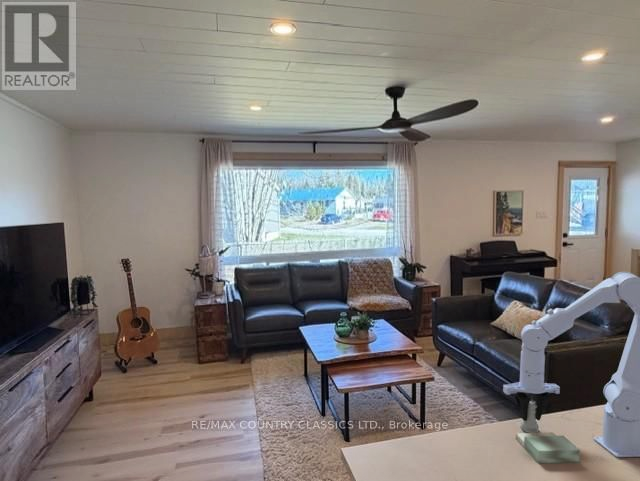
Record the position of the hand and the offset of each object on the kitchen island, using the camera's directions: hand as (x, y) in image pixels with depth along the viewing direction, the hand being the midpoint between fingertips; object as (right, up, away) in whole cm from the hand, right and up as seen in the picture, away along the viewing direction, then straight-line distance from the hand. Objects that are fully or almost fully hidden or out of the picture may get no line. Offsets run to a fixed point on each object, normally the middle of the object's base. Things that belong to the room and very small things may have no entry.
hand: (530, 418), depth 109 cm
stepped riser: (-1, -4, -9) cm, 10 cm away
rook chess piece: (0, -3, 0) cm, 3 cm away
